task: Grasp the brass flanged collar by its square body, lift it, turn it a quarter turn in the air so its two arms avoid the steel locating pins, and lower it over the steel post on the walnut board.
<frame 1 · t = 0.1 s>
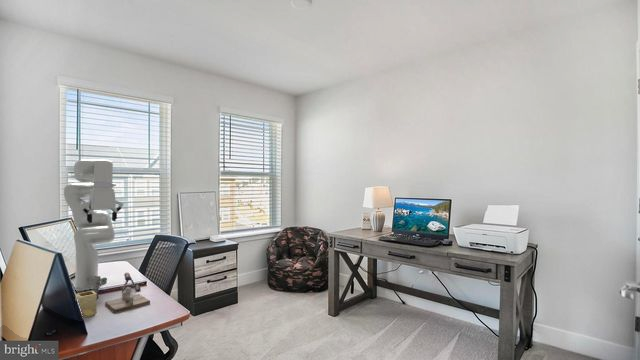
hand: (102, 221, 150), 37 cm above the table, tool pointing down, fingers open, 9 cm apart
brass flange: (85, 312, 134), on the table
mechanical component: (96, 298, 151), on the table
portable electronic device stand: (130, 290, 162), on the table
post dock: (127, 304, 143), on the table
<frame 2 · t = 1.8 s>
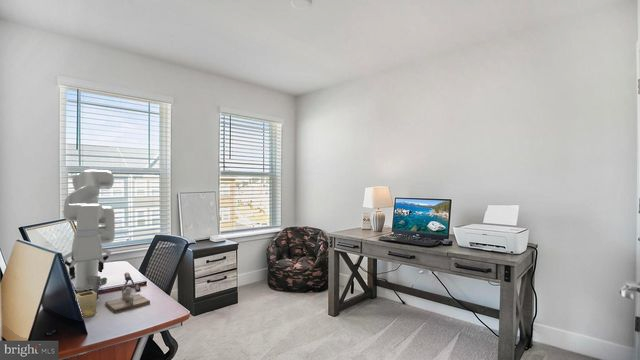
hand: (86, 274, 133), 17 cm above the table, tool pointing down, fingers open, 9 cm apart
nothing on the table moved.
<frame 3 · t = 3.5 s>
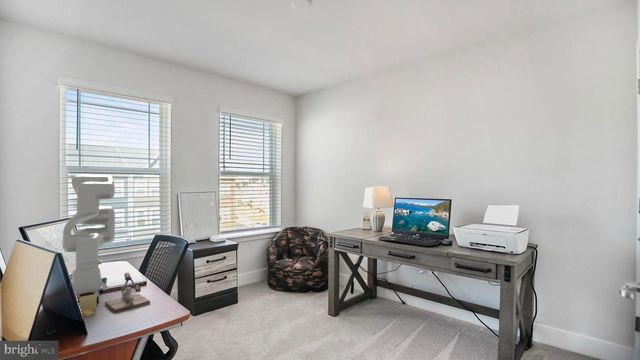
hand: (85, 307, 134), 2 cm above the table, tool pointing down, fingers closed on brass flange, 5 cm apart
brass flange: (85, 312, 134), on the table, touching gripper
everything else where it was.
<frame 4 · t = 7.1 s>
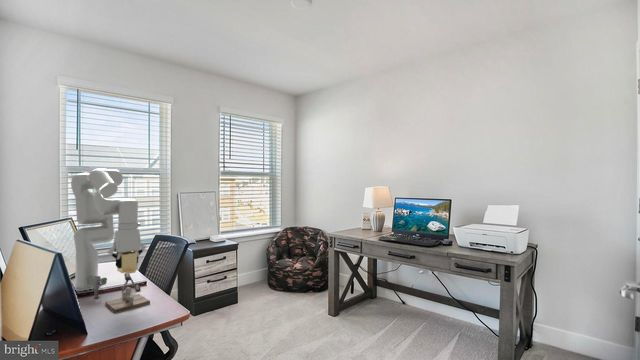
hand: (127, 265, 143), 18 cm above the table, tool pointing down, fingers closed on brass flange, 5 cm apart
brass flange: (127, 270, 143), point 16 cm above the table, touching gripper
everything else where it was.
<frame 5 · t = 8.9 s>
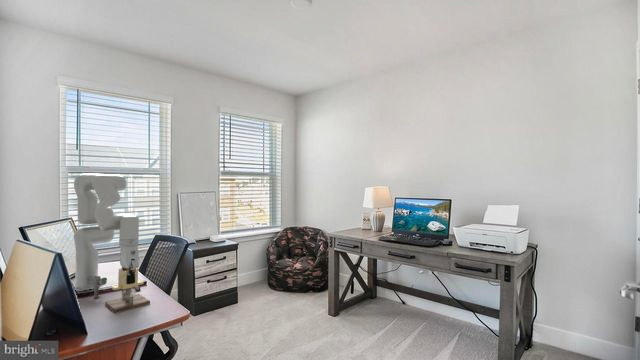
hand: (128, 281, 143), 10 cm above the table, tool pointing down, fingers closed on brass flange, 5 cm apart
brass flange: (128, 286, 143), point 8 cm above the table, touching gripper
everything else where it was.
when the fingers open (5 cm above the table, at t = 10.5 s): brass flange drops 1 cm, resting on post dock.
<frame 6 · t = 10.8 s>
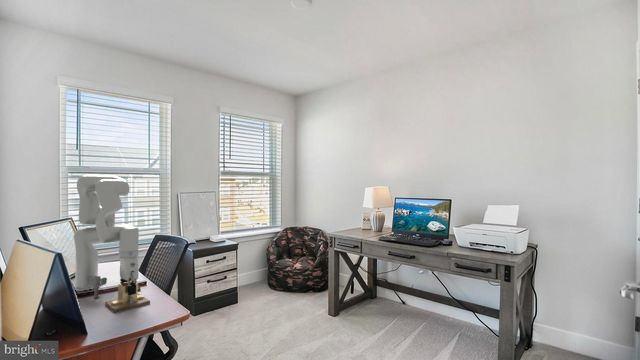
hand: (127, 291, 143), 6 cm above the table, tool pointing down, fingers open, 9 cm apart
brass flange: (127, 301, 143), point 1 cm above the table, touching post dock
everything else where it was.
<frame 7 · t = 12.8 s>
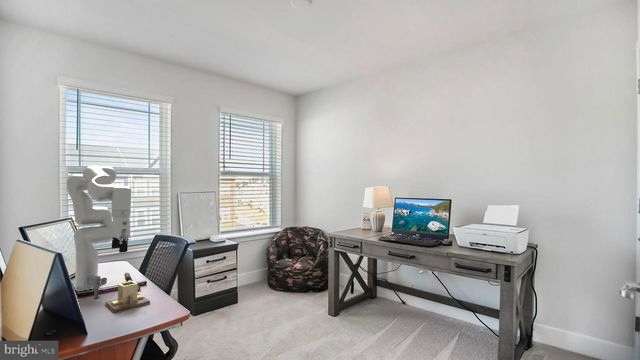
hand: (119, 250, 146), 24 cm above the table, tool pointing down, fingers open, 9 cm apart
nothing on the table moved.
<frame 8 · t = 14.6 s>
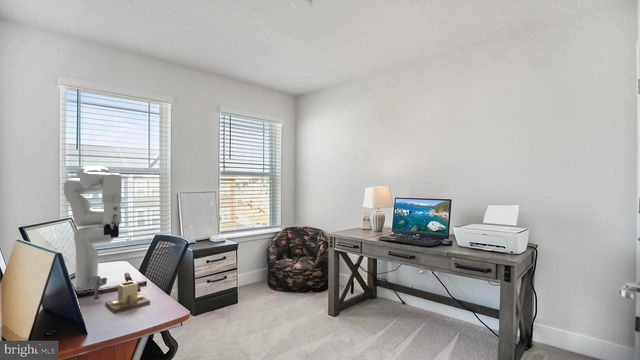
hand: (111, 236, 148), 30 cm above the table, tool pointing down, fingers open, 9 cm apart
nothing on the table moved.
at the end: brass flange 0.0 cm off-centre on the post dock, point 1.5 cm above the post dock's base; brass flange tilted 0°; the gripper is holding nothing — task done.
